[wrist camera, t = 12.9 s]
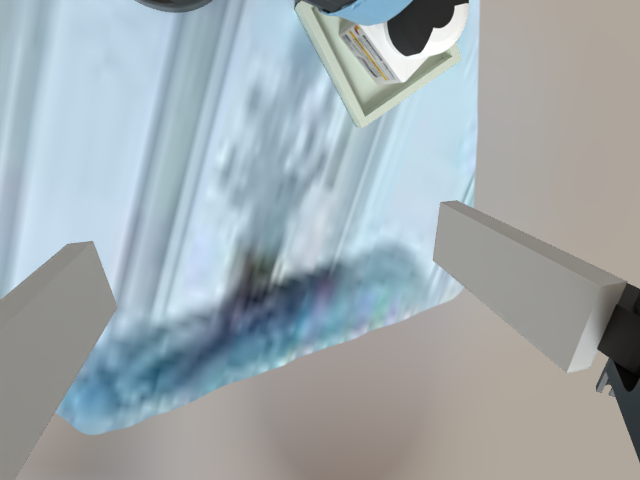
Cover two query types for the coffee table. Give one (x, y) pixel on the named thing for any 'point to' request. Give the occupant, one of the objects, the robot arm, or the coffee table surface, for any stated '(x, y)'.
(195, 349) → the coffee table surface
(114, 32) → the coffee table surface
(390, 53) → the container
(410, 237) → the coffee table surface
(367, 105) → the parts tray
